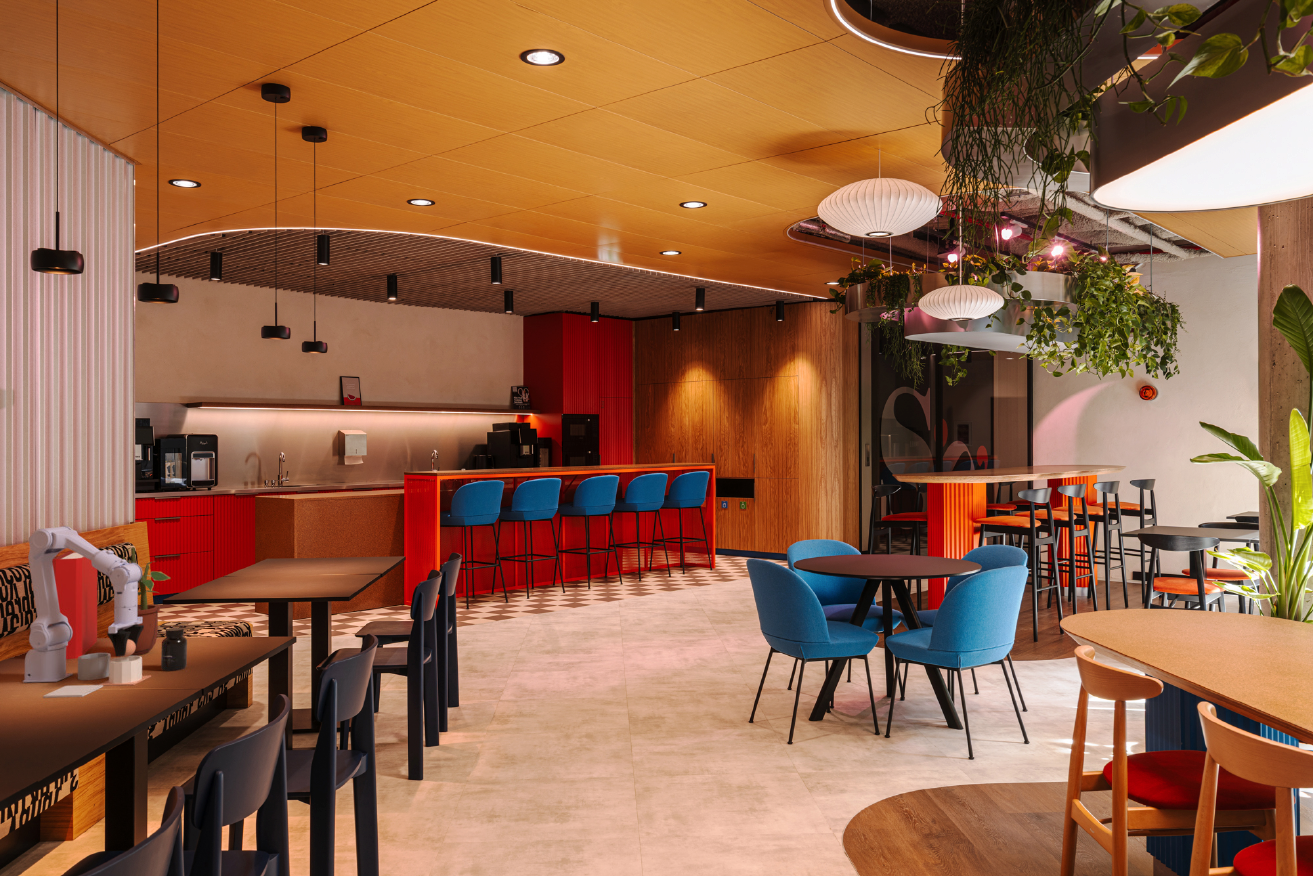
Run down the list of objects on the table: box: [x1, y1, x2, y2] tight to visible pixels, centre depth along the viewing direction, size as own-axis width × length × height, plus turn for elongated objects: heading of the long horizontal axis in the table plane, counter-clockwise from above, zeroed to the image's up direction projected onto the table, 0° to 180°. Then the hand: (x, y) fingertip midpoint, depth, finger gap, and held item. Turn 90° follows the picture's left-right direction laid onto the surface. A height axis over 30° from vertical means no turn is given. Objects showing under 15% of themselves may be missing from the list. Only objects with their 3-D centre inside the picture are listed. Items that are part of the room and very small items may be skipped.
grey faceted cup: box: [77, 652, 111, 681], centre depth 258 cm, size 8×8×6 cm
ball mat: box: [43, 684, 104, 699], centre depth 241 cm, size 10×10×1 cm
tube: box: [99, 655, 152, 687], centre depth 252 cm, size 10×10×6 cm
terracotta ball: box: [120, 639, 136, 657], centre depth 253 cm, size 5×5×5 cm
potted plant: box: [111, 546, 171, 656], centre depth 290 cm, size 17×16×35 cm
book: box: [52, 550, 98, 660], centre depth 292 cm, size 27×8×32 cm, turn 23°
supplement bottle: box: [160, 627, 188, 672], centre depth 267 cm, size 7×7×12 cm
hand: (125, 653), depth 253 cm, fingers closed on terracotta ball, 5 cm apart
